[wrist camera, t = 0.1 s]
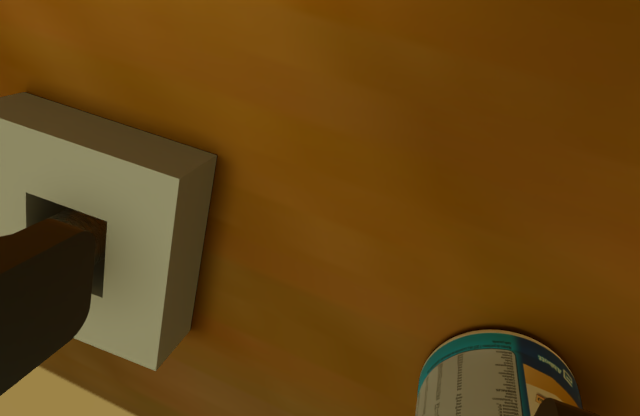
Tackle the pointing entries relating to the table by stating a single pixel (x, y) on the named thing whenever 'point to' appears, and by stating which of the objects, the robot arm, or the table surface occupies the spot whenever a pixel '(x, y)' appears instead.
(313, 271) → the table surface
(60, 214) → the pin
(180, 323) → the block
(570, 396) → the beverage bottle
